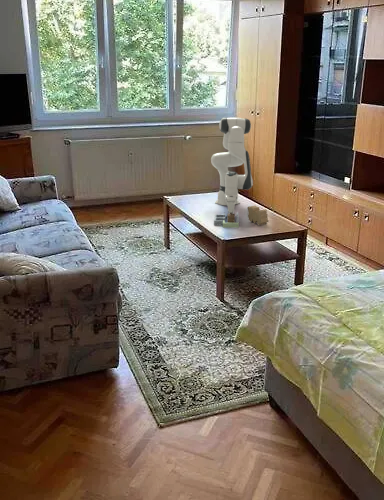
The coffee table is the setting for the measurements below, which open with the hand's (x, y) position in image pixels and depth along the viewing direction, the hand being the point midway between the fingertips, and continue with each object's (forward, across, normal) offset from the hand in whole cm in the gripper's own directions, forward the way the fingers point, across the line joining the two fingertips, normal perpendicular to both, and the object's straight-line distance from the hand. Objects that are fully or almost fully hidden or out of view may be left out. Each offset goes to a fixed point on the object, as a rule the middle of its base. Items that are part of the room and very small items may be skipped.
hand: (231, 215), depth 357 cm
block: (+3, +4, 0) cm, 5 cm away
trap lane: (+3, +5, -3) cm, 6 cm away
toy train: (+3, +6, +18) cm, 19 cm away
